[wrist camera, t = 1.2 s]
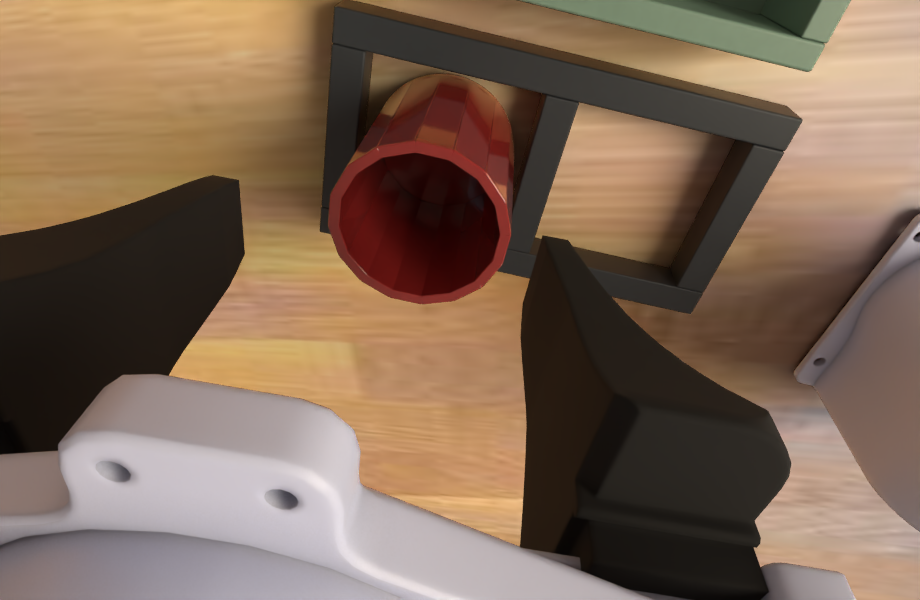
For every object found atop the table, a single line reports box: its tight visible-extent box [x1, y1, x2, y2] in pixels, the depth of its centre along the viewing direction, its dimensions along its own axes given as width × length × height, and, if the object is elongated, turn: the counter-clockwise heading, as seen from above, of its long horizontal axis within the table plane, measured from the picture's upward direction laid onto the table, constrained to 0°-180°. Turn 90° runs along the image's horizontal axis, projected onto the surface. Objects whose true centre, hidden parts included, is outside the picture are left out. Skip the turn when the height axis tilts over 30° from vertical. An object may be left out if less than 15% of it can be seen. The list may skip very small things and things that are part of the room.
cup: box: [328, 73, 514, 304], centre depth 20 cm, size 6×6×7 cm
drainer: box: [320, 0, 802, 314], centre depth 22 cm, size 9×16×2 cm, turn 78°
